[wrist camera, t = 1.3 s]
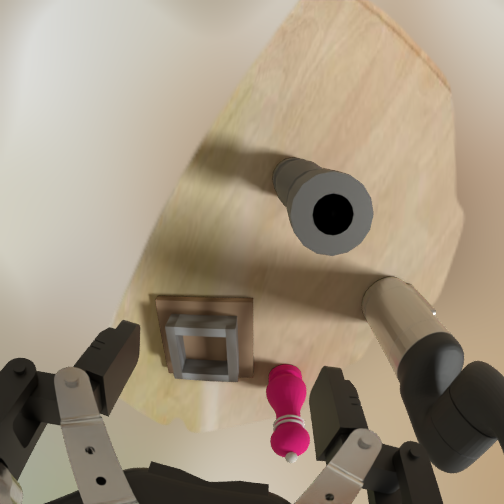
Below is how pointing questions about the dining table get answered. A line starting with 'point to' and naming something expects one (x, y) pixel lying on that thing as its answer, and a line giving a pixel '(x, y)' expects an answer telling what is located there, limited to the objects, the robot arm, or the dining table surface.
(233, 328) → the socket board
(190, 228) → the dining table surface
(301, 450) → the pepper mill
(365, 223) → the candle holder
